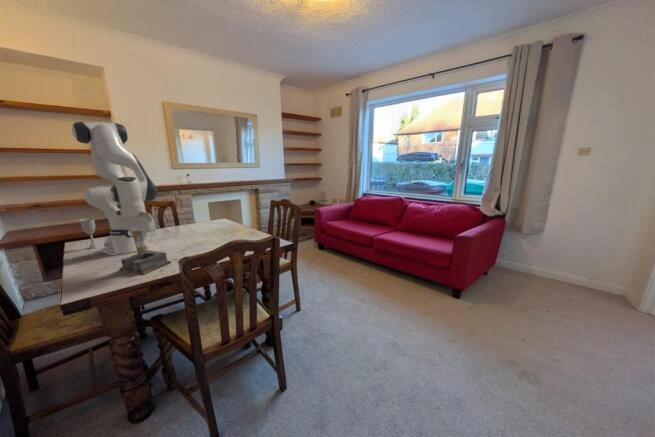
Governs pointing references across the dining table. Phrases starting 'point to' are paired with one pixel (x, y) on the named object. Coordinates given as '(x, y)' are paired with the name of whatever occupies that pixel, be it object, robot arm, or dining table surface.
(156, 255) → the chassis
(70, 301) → the dining table surface
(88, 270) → the dining table surface
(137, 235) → the sprinkles bottle
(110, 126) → the robot arm
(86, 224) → the chalice
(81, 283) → the dining table surface
